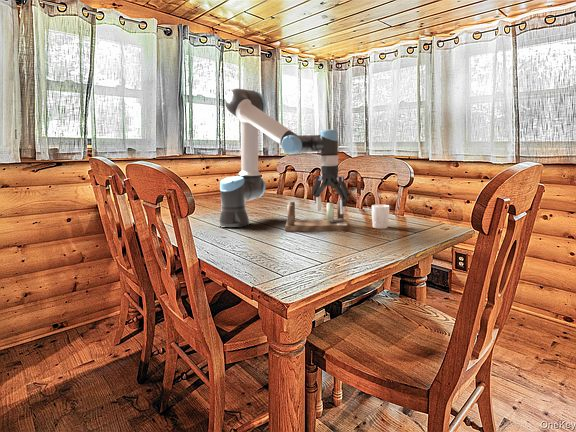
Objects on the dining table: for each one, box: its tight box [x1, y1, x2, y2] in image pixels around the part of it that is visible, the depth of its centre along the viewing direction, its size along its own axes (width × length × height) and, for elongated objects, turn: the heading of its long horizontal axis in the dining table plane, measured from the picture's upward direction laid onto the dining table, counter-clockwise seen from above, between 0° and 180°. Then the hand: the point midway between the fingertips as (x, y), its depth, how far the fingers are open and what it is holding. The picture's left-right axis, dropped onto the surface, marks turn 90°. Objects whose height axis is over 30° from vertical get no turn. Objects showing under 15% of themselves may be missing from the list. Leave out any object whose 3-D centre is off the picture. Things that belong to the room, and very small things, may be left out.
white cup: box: [371, 203, 390, 230], centre depth 173 cm, size 8×8×10 cm
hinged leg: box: [326, 202, 343, 223], centre depth 174 cm, size 9×3×9 cm, turn 116°
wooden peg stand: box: [284, 200, 349, 233], centre depth 175 cm, size 28×13×12 cm, turn 87°
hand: (330, 212), depth 173 cm, fingers open, 13 cm apart
